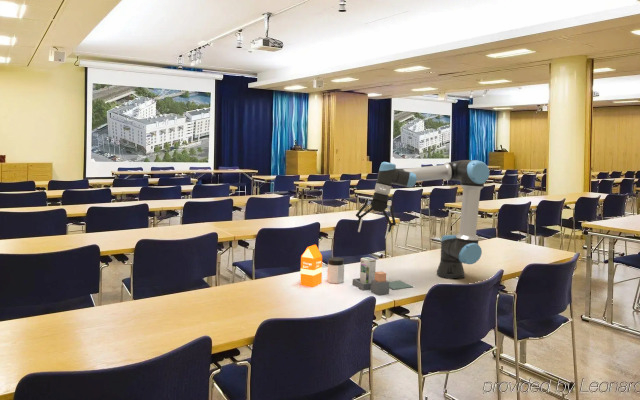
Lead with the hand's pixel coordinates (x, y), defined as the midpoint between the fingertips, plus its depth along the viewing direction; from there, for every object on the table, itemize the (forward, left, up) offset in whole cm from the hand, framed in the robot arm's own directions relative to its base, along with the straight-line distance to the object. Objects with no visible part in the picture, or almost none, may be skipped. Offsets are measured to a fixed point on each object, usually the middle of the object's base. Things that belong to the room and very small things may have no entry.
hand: (372, 235), depth 240 cm
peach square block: (0, +10, -21) cm, 23 cm away
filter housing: (0, +2, -27) cm, 27 cm away
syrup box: (0, -2, -27) cm, 27 cm away
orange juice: (+25, -16, -27) cm, 41 cm away
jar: (+11, -16, -27) cm, 34 cm away
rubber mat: (-15, +2, -27) cm, 31 cm away
